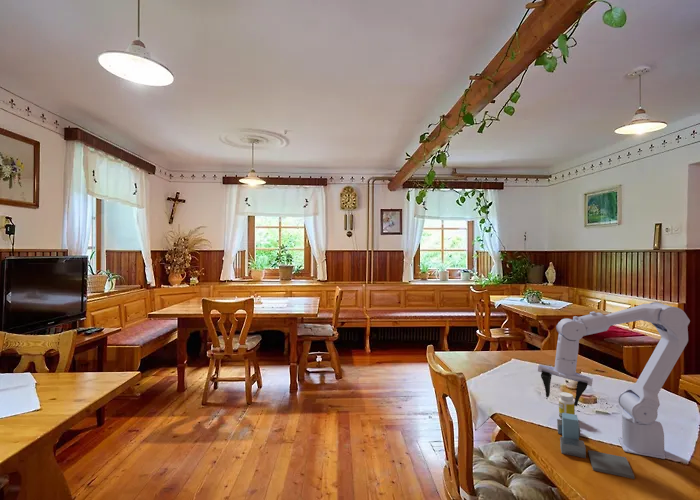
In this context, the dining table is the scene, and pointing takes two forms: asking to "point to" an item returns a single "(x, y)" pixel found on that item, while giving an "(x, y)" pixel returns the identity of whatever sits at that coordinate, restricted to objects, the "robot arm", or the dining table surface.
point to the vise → (571, 444)
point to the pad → (610, 464)
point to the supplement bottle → (566, 404)
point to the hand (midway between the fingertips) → (561, 400)
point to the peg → (570, 426)
